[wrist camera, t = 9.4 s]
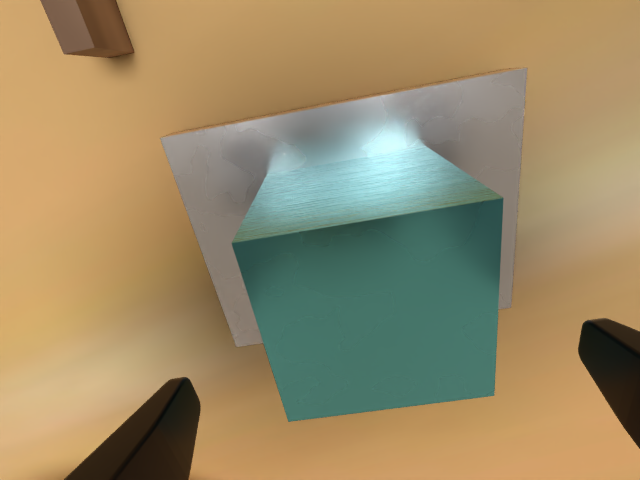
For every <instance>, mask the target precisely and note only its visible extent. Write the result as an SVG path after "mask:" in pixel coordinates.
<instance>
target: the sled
mask: <svg viewBox="0 0 640 480" xmlns="http://www.w3.org/2000/svg"><path fill="white" fill-rule="evenodd" d="M526 77H527V68H509V69H503V70H498V71H493V72H488V73H483V74H477V75H472V76H467V77H462V78H456V79H451V80H446V81H441V82H436V83H430V84H425V85H420V86H415V87H410V88H404V89H399V90H394V91H389V92H384V93H378V94H373V95H368V96H363V97H358V98H352V99H347V100H342V101H337V102H332V103H326V104H321V105H316V106H311V107H306V108H300V109H295V110H290V111H285V112H280V113H274V114H269V115H264V116H259V117H254V118H248V119H243V120H238V121H233V122H228V123H222V124H217V125H212V126H207V127H202V128H196V129H191V130H186V131H181V132H176V133H171V134H169V135H166V136H164V137H161V138H160V139H161V142H162V145H163V148H164V150H165V153H166V156H167V158H168V161H169V164H170V167H171V169H172V172H173V175H174V178H175V180H176V183H177V186H178V189H179V191H180V194H181V197H182V200H183V202H184V205H185V208H186V211H187V213H188V216H189V219H190V222H191V224H192V227H193V230H194V232H195V235H196V238H197V241H198V243H199V246H200V249H201V252H202V254H203V257H204V260H205V263H206V265H207V268H208V271H209V274H210V276H211V279H212V282H213V285H214V287H215V290H216V293H217V296H218V298H219V301H220V304H221V306H222V309H223V312H224V315H225V317H226V320H227V323H228V326H229V328H230V331H231V334H232V337H233V339H234V342H235V345H236V347H241V346H248V345H255V344H262V343H264V347H265V350H266V353H267V356H268V359H269V362H270V365H271V368H272V372H273V375H274V378H275V381H276V384H277V387H278V390H279V394H280V397H281V400H282V403H283V406H284V409H285V412H286V415H287V419H288V422H290V421H298V420H306V419H314V418H322V417H330V416H338V415H346V414H353V413H361V412H369V411H377V410H385V409H393V408H401V407H409V406H417V405H425V404H432V403H440V402H448V401H456V400H464V399H472V398H480V397H488V396H494V389H495V368H496V347H497V326H498V309H505V308H511V302H512V287H513V272H514V257H515V242H516V227H517V212H518V197H519V182H520V167H521V152H522V137H523V122H524V107H525V92H526Z"/></svg>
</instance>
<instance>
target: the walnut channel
mask: <svg viewBox="0 0 640 480" xmlns="http://www.w3.org/2000/svg"><path fill="white" fill-rule="evenodd" d="M41 2H42V5H43V7H44V9H45V12H46V14H47V16H48V19H49V21H50V23H51V25H52V28H53V30H54V32H55V35H56V37H57V39H58V41H59V44H60V46H61V48H62V51H63V53H64V54H69V55H81V56H93V57H105V58H110V57H114V56H119V55H124V54H129V53H133V52H134V51H133V48H132V45H131V42H130V40H129V37H128V34H127V31H126V28H125V26H124V23H123V20H122V17H121V14H120V12H119V9H118V6H117V3H116V1H115V0H41Z"/></svg>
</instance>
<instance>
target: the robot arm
mask: <svg viewBox="0 0 640 480" xmlns="http://www.w3.org/2000/svg"><path fill="white" fill-rule="evenodd" d="M578 352H579V356H580V359H581V361H582V362H583V364H584V365H585V367H586V369H587V370H588V372H589V373H590V375H591V377H592V378H593V380H594V381H595V383H596V385H597V386H598V388H599V389H600V391H601V393H602V394H603V396H604V397H605V399H606V401H607V402H608V404H609V405H610V407H611V409H612V410H613V412H614V413H615V415H616V416H617V418H618V419H619V421H620V422H621V424H622V425H623V427H624V428H625V430H626V431H627V432H628V434H629V435H630V437H631V438H632V439H633V441H634V442H635V443H636V445H637V446H638V447H639V449H640V331H637V330H635V329H632V328H630V327H627V326H625V325H622V324H620V323H617V322H615V321H612V320H610V319H606V318H600V319H593V320H587V321H585V322H584V323H583V325H582V330H581V335H580V341H579V347H578ZM199 416H200V401H199V398H198V396H197V394H196V392H195V389H194V387H193V385H192V383H191V381H190V379H188V378H187V377H182V378H175V379H171V380H169V381H168V382H166V383H165V384H164V385H163V386H162V387H161V388H160V389H159V390H158V391H157V392H156V393H155V394H154V395H153V396H152V397H151V398H149V399H148V400H147V401H146V402H145V403H144V404H143V405H142V406H141V407H140V408H139V409H138V410H137V411H136V412H135V413H134V414H133V415H132V416H130V417H129V418H128V419H127V420H126V421H125V422H124V423H123V424H122V425H121V426H120V427H119V428H118V429H117V430H116V431H115V432H114V433H113V434H111V435H110V436H109V437H108V438H107V439H106V440H105V441H104V442H103V443H102V444H101V445H100V446H99V447H98V448H97V449H96V450H95V451H94V452H92V453H91V454H90V455H89V456H88V457H87V458H86V459H85V460H84V461H83V462H82V463H81V464H80V465H79V466H78V467H77V468H76V469H74V470H73V471H72V472H71V473H70V474H69V475H68V476H67V477H66V478H65V479H64V480H189V475H190V470H191V464H192V458H193V452H194V446H195V440H196V434H197V428H198V422H199Z"/></svg>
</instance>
